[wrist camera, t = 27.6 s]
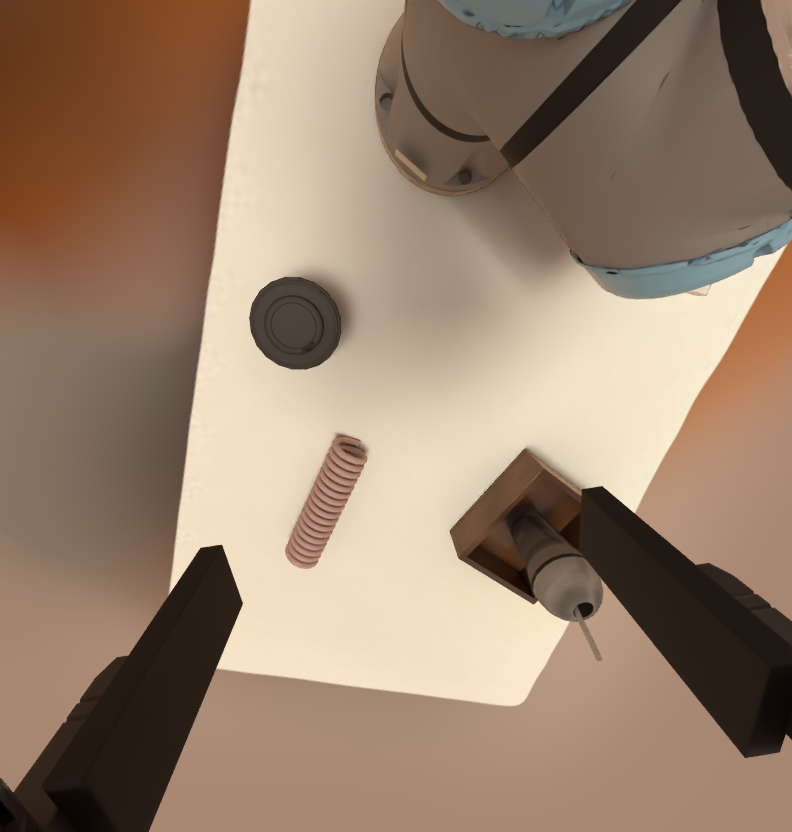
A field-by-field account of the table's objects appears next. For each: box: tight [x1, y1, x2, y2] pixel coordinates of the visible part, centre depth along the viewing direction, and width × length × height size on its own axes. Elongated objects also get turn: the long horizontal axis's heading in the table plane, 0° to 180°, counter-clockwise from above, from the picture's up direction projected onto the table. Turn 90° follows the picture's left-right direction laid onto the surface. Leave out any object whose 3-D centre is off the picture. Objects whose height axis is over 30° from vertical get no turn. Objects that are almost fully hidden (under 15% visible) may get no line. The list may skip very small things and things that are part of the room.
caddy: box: [450, 449, 582, 604], centre depth 49 cm, size 16×14×6 cm
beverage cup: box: [507, 505, 603, 661], centre depth 41 cm, size 7×7×20 cm
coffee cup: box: [249, 277, 341, 369], centre depth 36 cm, size 8×8×10 cm
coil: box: [285, 437, 367, 569], centre depth 46 cm, size 5×5×18 cm
